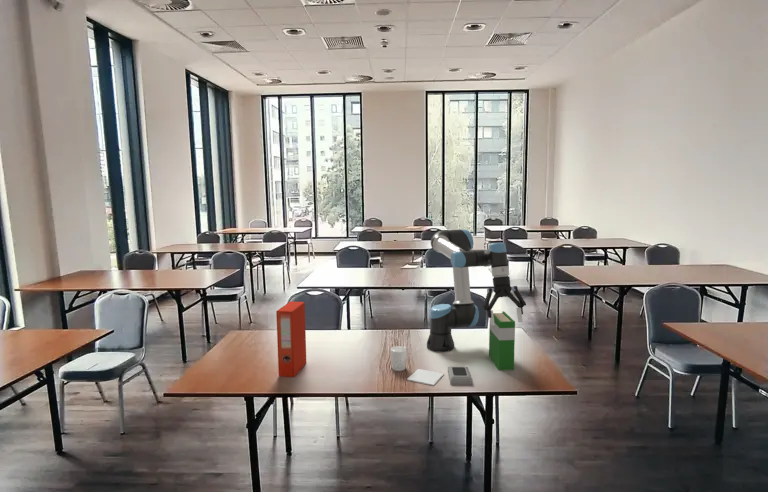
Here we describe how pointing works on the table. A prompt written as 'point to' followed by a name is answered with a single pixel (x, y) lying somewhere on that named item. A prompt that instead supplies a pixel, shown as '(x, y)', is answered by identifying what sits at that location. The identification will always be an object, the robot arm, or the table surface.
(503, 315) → the hardback book
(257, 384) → the table surface
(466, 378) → the grey box
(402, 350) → the white cup
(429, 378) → the mat
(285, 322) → the file binder
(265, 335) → the table surface
